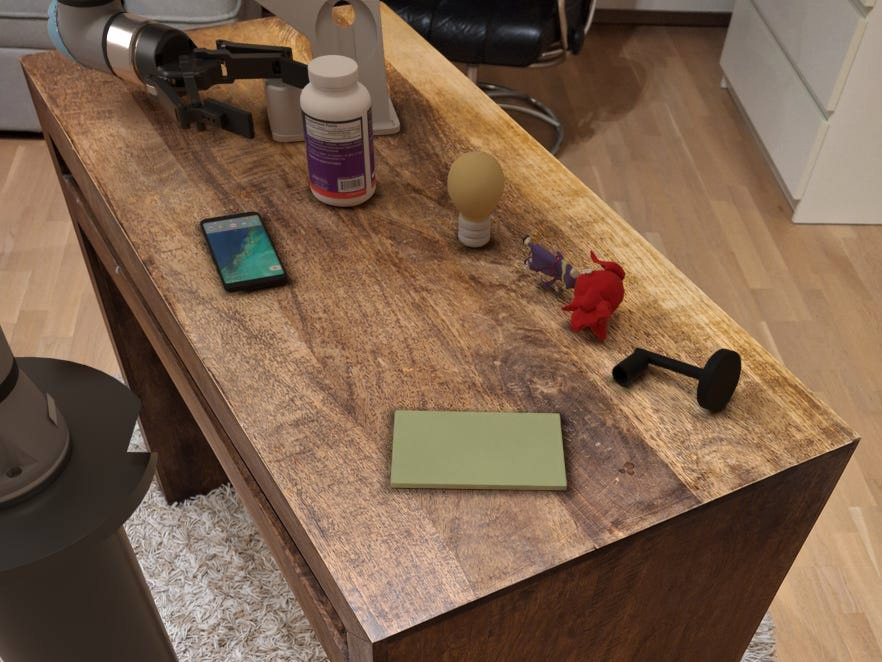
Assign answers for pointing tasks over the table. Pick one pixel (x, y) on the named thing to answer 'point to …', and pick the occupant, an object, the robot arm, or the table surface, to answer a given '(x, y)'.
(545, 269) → the figurine
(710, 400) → the light fixture
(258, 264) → the smartphone
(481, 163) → the light bulb
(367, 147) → the pill bottle
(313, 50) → the phone holder
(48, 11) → the robot arm
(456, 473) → the mat
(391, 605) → the table surface
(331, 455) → the table surface
